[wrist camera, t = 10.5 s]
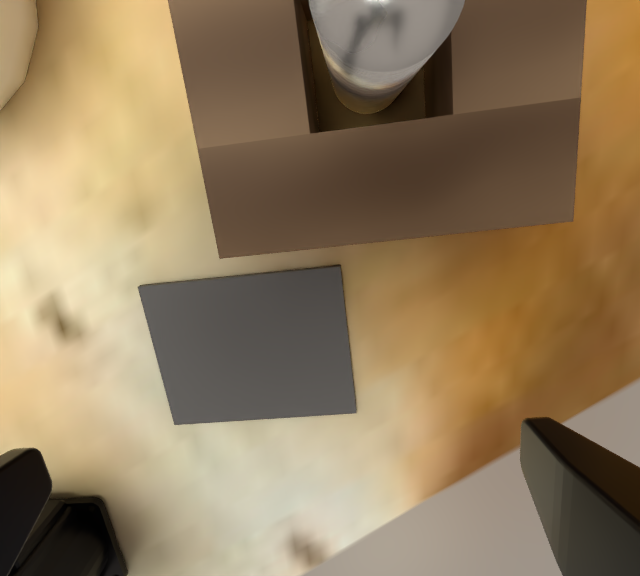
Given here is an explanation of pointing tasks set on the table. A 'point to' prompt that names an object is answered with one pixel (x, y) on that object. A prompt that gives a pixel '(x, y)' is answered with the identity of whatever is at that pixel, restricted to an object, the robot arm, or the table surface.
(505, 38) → the hole block
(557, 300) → the table surface
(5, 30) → the vase
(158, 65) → the table surface
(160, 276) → the table surface
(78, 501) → the robot arm
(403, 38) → the pin
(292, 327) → the rubber mat
